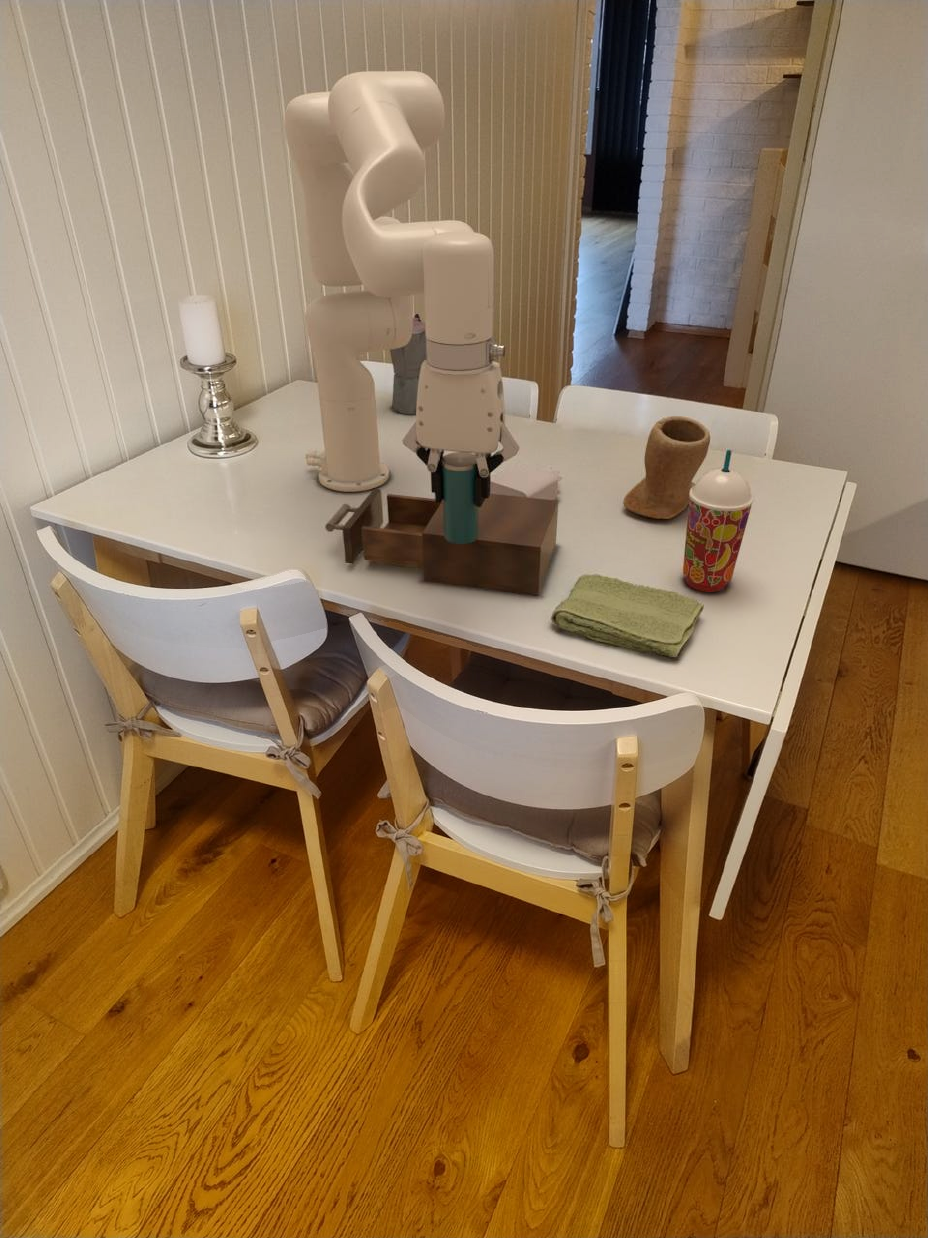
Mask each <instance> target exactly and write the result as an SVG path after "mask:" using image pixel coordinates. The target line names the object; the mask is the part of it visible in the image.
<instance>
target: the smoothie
mask: <svg viewBox="0 0 928 1238" xmlns="http://www.w3.org/2000/svg"><path fill="white" fill-rule="evenodd" d="M732 451H733V450H731V449H727V450H726V452H725V457H724V462H723V467H719V468H714V469H711V470H708V471H707V472H704V473H703V475H701V476H700V477H699V478H698V480H697V481H696V482H695V485H694V486H693V487H692V488H691V489H690V491H689V504H688V506H687V507H688V508H687V519H686V531H685V541H684V542H685V543H684V553H683V564H682V565H683V566H682V574H683V576H684V578H685V583H686V584H687V585H688V586H689V587H690V588H692V589H695V590H697V591H700V592H704V593H715V592H720V591H722V590H724V589H725V588H726V586H727V585H728V584H729V583H730V582H731V580H732V579H733V575H734V572H735V567H736V564H737V561H738V557H739V553H740V550H741V546H742V543H743V539H744V535H745V533H746V529H747V524H748V520H749V517H750V513H751V510H752V505H753V503H754V500H755V499H754V495H753V494H752V492H751V488H750V485H749V483H748V481H747V480H746V479H745V477H744V476H743V475H742V474H741V473H740V472H739V471H736V470H734V469H731V468H730V462H731V457H732Z"/></svg>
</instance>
